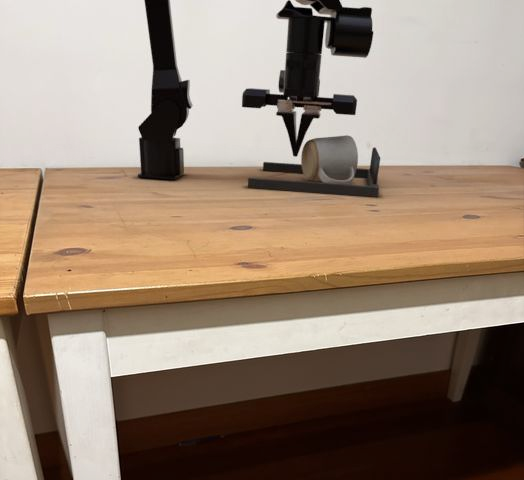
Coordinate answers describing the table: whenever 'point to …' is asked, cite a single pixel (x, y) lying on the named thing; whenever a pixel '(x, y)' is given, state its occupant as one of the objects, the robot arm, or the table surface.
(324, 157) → the ceramic mug
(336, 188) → the dish rack
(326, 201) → the table surface
